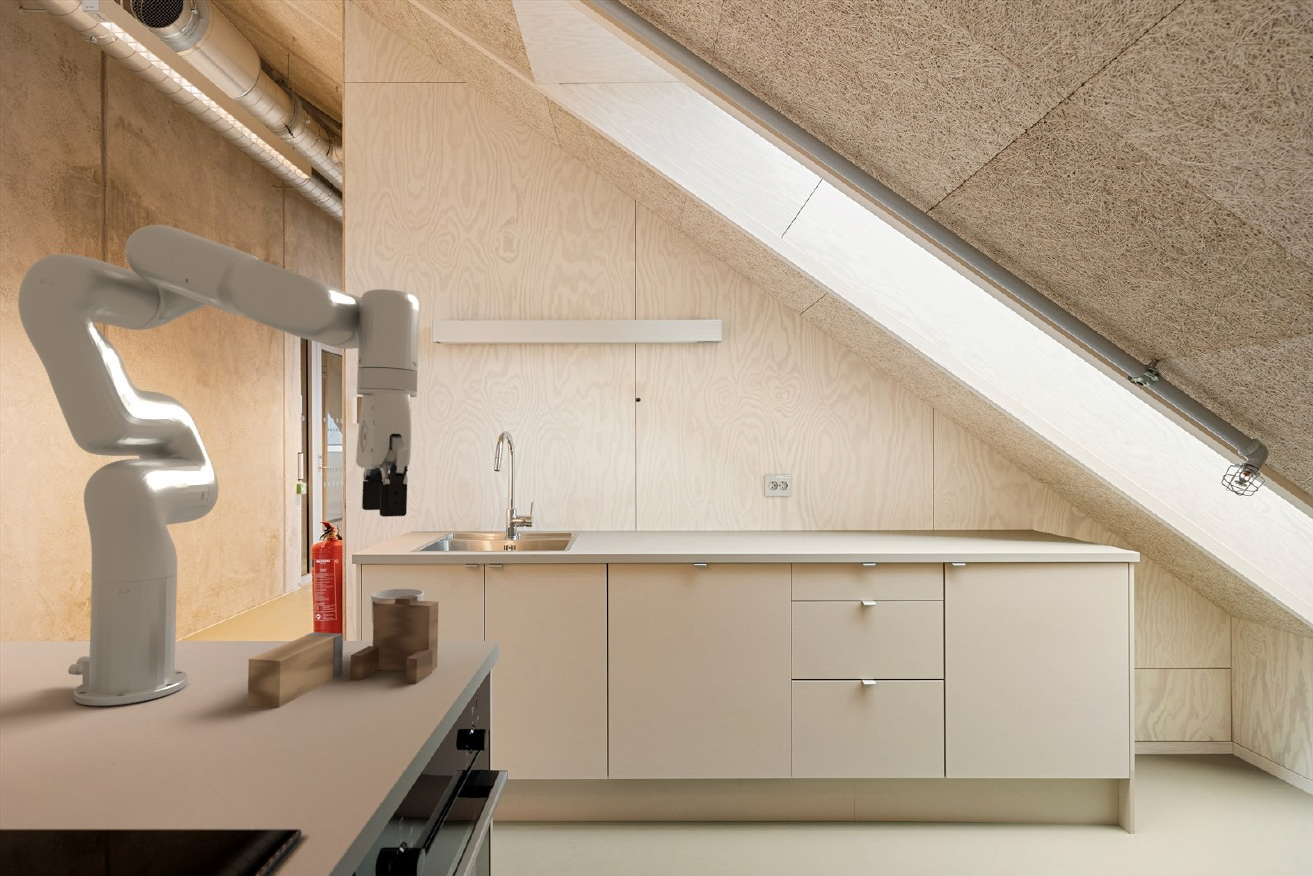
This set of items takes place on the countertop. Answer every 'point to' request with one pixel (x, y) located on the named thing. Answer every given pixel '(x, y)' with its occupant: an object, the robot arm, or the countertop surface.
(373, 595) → the cup
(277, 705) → the wooden block
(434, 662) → the wooden footed block
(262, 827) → the countertop surface
